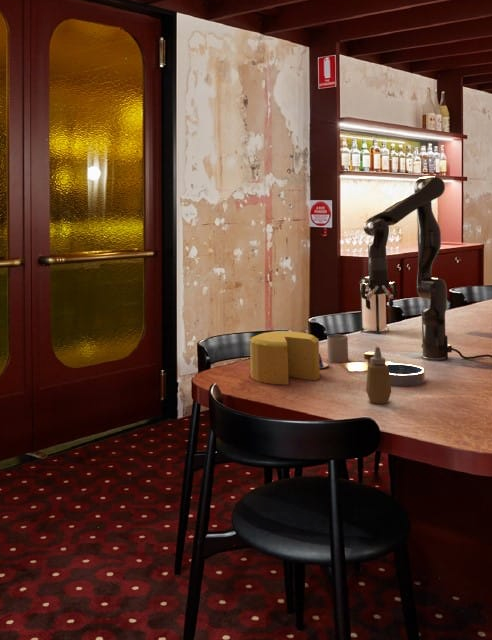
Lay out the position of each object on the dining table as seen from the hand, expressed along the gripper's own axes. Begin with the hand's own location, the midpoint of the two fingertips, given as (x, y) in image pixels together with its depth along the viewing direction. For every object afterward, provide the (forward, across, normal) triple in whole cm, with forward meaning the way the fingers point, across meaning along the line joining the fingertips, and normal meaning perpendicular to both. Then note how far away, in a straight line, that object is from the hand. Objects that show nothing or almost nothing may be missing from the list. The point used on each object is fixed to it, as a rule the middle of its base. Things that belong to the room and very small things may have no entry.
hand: (379, 308), depth 289 cm
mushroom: (+21, -6, -6) cm, 23 cm away
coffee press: (+24, +16, +74) cm, 79 cm away
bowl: (+22, -1, -27) cm, 35 cm away
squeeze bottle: (+22, -15, -52) cm, 59 cm away
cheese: (+22, -41, -14) cm, 49 cm away
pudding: (+22, -28, 0) cm, 36 cm away
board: (+22, -6, -6) cm, 24 cm away
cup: (+23, -16, +10) cm, 29 cm away
